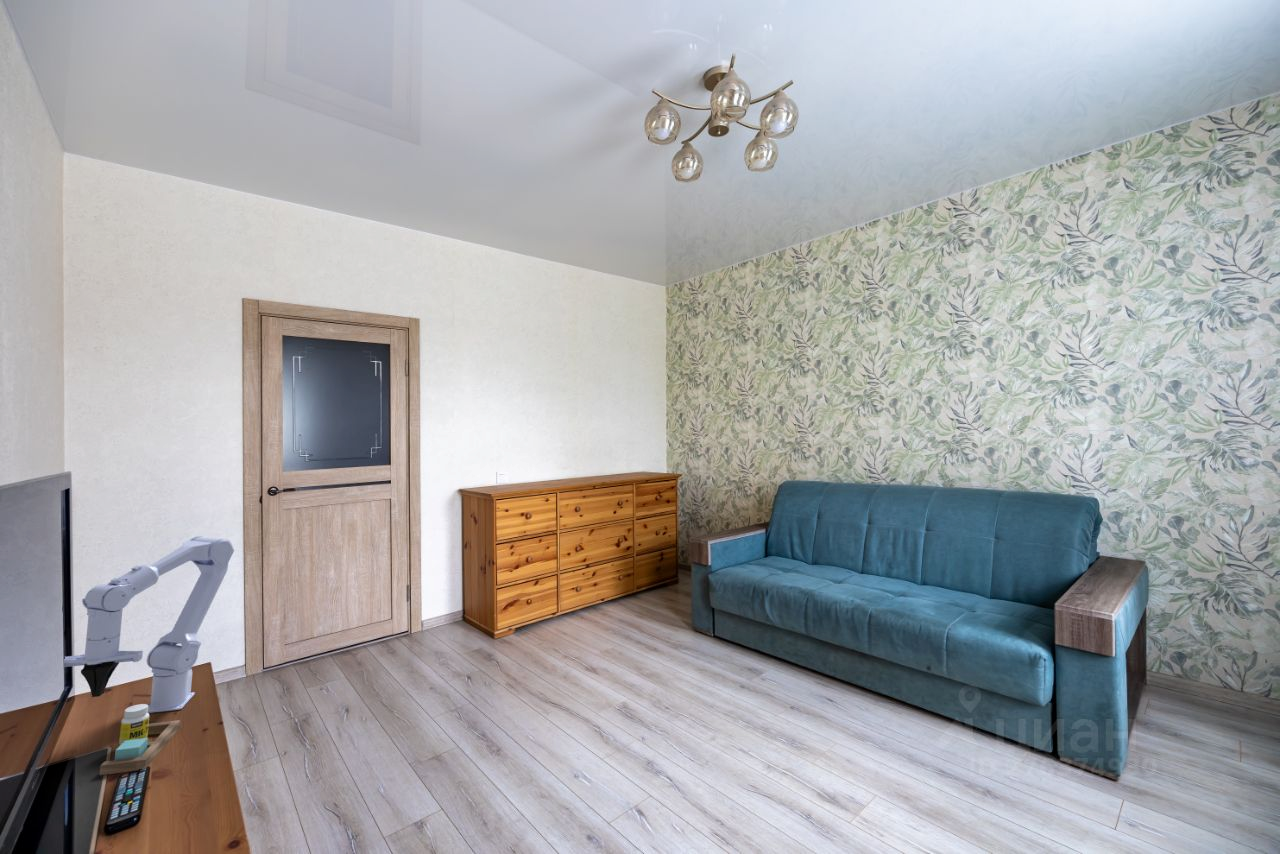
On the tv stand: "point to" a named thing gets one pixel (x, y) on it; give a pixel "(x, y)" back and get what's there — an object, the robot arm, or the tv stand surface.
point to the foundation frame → (152, 750)
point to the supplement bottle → (134, 723)
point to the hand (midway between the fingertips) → (98, 694)
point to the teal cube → (131, 749)
